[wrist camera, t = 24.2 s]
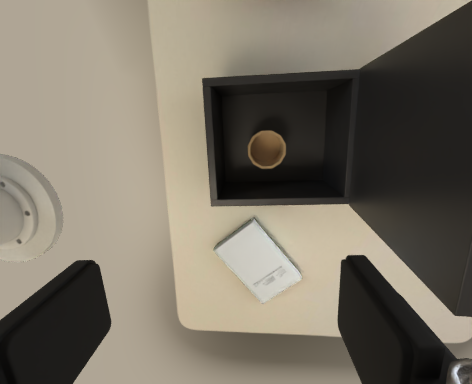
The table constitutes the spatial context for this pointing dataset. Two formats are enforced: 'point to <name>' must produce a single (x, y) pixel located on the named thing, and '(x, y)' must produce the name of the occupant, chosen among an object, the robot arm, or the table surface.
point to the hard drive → (257, 261)
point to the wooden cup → (266, 149)
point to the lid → (421, 155)
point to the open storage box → (291, 130)
